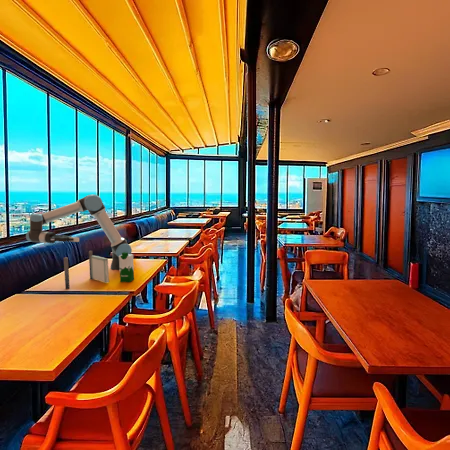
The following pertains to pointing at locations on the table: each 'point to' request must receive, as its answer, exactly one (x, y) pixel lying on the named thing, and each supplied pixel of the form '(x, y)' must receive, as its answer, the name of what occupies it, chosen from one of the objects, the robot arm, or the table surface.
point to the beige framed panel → (99, 268)
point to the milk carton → (126, 267)
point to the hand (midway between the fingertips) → (78, 239)
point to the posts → (68, 270)
